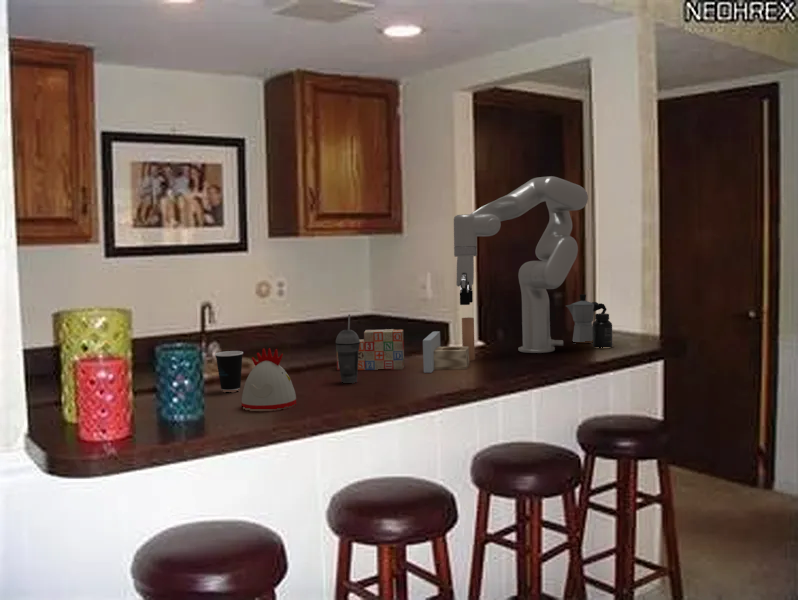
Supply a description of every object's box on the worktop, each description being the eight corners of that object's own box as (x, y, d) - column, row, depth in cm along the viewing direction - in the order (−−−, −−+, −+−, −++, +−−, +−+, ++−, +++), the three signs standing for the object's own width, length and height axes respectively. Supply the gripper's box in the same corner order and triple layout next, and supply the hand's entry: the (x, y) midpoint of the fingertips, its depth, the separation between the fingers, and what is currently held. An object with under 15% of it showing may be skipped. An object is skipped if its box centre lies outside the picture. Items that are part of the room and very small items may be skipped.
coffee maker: (566, 344, 307) (565, 295, 305) (565, 341, 315) (564, 293, 314) (608, 343, 304) (607, 294, 303) (606, 340, 313) (605, 292, 311)
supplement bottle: (612, 346, 298) (611, 312, 297) (612, 349, 291) (612, 314, 290) (592, 346, 299) (592, 313, 298) (592, 349, 293) (592, 315, 292)
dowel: (475, 358, 280) (474, 317, 278) (474, 360, 276) (473, 318, 274) (463, 358, 280) (462, 317, 279) (462, 360, 276) (461, 318, 275)
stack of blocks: (336, 371, 265) (335, 332, 264) (339, 367, 271) (338, 330, 270) (403, 369, 263) (402, 331, 262) (404, 366, 270) (403, 328, 269)
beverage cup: (350, 379, 249) (347, 312, 247) (366, 381, 243) (364, 313, 242) (331, 382, 243) (328, 314, 242) (348, 385, 238) (345, 316, 237)
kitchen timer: (287, 412, 205) (284, 351, 204) (234, 412, 208) (230, 352, 207) (302, 400, 219) (300, 344, 218) (252, 400, 221) (249, 344, 220)
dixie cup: (247, 388, 239) (245, 350, 238) (242, 393, 231) (240, 354, 231) (219, 389, 239) (217, 351, 238) (213, 394, 231) (211, 355, 231)
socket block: (469, 364, 269) (468, 346, 268) (466, 370, 259) (465, 350, 259) (438, 365, 271) (437, 346, 270) (434, 370, 261) (433, 351, 260)
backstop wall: (440, 361, 277) (440, 331, 276) (431, 372, 255) (430, 340, 254) (433, 361, 277) (432, 331, 276) (423, 372, 256) (422, 340, 255)
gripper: (457, 251, 284) (458, 301, 285) (451, 252, 267) (452, 305, 268) (479, 251, 283) (479, 301, 284) (474, 252, 266) (475, 305, 267)
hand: (466, 303), depth 276 cm, fingers open, 9 cm apart
